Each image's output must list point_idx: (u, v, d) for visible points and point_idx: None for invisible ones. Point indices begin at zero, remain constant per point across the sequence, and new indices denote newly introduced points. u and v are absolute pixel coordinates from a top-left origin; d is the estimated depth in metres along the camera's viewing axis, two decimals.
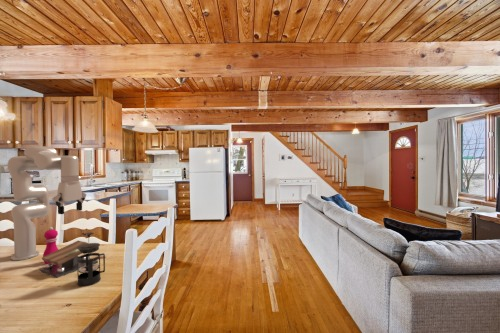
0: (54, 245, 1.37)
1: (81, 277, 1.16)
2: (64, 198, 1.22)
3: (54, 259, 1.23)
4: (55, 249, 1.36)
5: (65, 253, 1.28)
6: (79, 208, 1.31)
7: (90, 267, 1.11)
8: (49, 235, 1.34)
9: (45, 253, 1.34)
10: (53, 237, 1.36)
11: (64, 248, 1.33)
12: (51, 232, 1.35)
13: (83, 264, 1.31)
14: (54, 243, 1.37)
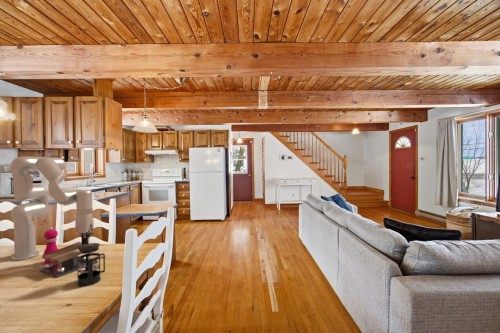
0: (54, 245, 1.37)
1: (81, 277, 1.16)
2: (93, 228, 1.38)
3: (54, 257, 1.23)
4: (55, 249, 1.36)
5: (65, 252, 1.28)
6: None
7: (90, 267, 1.11)
8: (49, 235, 1.34)
9: (45, 253, 1.34)
10: (53, 237, 1.36)
11: (64, 248, 1.34)
12: (51, 232, 1.35)
13: (83, 264, 1.31)
14: (54, 243, 1.37)
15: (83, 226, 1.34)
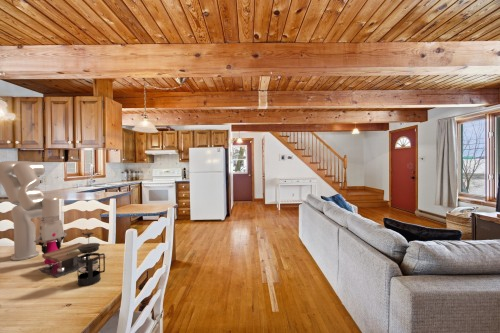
0: (54, 245, 1.37)
1: (81, 277, 1.16)
2: None
3: (54, 256, 1.23)
4: (55, 249, 1.36)
5: (66, 252, 1.28)
6: None
7: (89, 267, 1.11)
8: None
9: None
10: None
11: (65, 248, 1.34)
12: None
13: (83, 264, 1.31)
14: (54, 243, 1.37)
15: (60, 231, 1.38)
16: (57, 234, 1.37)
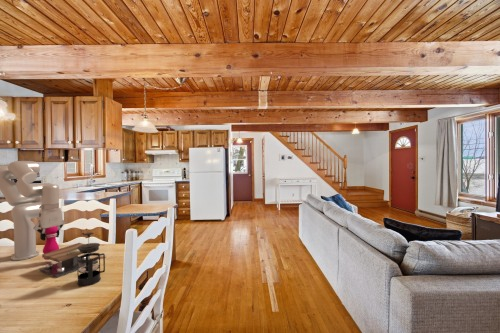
0: (54, 240, 1.36)
1: (81, 277, 1.16)
2: None
3: (54, 256, 1.23)
4: (55, 244, 1.36)
5: (66, 252, 1.28)
6: None
7: (89, 267, 1.11)
8: (49, 230, 1.34)
9: (45, 248, 1.34)
10: (53, 232, 1.35)
11: (65, 248, 1.34)
12: (51, 227, 1.35)
13: (83, 264, 1.31)
14: (54, 238, 1.37)
15: (59, 219, 1.38)
16: (56, 222, 1.37)
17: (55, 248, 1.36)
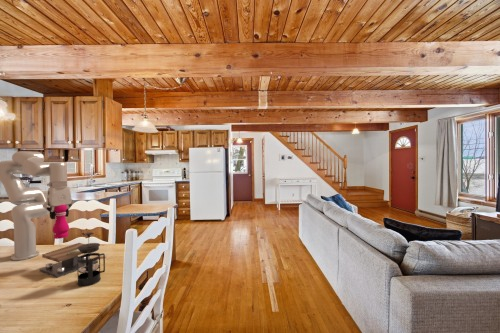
0: (64, 219, 1.33)
1: (81, 277, 1.16)
2: None
3: (54, 256, 1.23)
4: (65, 223, 1.33)
5: (66, 252, 1.28)
6: None
7: (89, 267, 1.11)
8: (58, 208, 1.31)
9: (55, 227, 1.30)
10: (62, 211, 1.32)
11: (65, 248, 1.34)
12: (60, 205, 1.32)
13: (83, 264, 1.31)
14: (64, 217, 1.33)
15: (68, 197, 1.35)
16: (65, 200, 1.34)
17: (65, 227, 1.32)
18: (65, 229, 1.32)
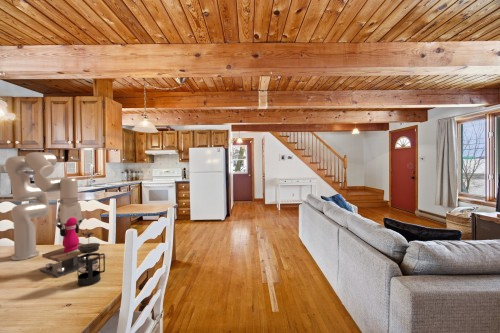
0: (74, 232, 1.30)
1: (81, 277, 1.16)
2: None
3: (54, 256, 1.23)
4: (75, 237, 1.30)
5: None
6: None
7: (89, 267, 1.11)
8: (68, 222, 1.27)
9: (65, 241, 1.27)
10: (72, 224, 1.29)
11: None
12: (70, 219, 1.28)
13: (83, 264, 1.31)
14: (73, 230, 1.30)
15: (78, 213, 1.32)
16: (75, 217, 1.31)
17: (75, 240, 1.29)
18: (75, 243, 1.29)
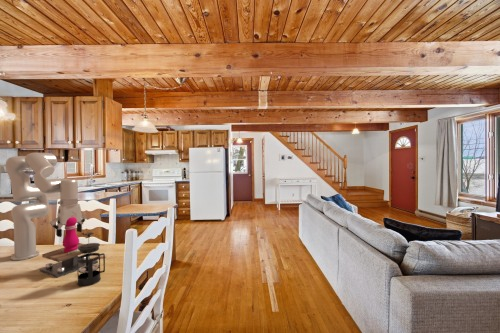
0: (74, 232, 1.30)
1: (81, 277, 1.16)
2: None
3: (54, 256, 1.23)
4: (75, 237, 1.30)
5: None
6: None
7: (90, 267, 1.11)
8: (68, 222, 1.27)
9: (65, 241, 1.27)
10: (73, 224, 1.29)
11: None
12: (70, 219, 1.28)
13: (83, 264, 1.31)
14: (74, 230, 1.30)
15: (78, 215, 1.32)
16: None
17: (75, 240, 1.29)
18: (75, 243, 1.29)
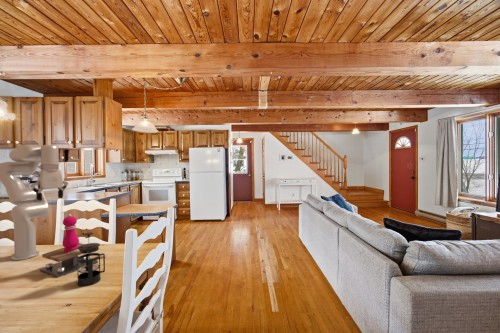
0: (73, 232, 1.30)
1: (81, 277, 1.16)
2: None
3: (54, 256, 1.23)
4: (75, 237, 1.30)
5: None
6: None
7: (89, 267, 1.11)
8: (68, 222, 1.27)
9: (65, 241, 1.27)
10: (72, 224, 1.28)
11: None
12: (70, 219, 1.28)
13: (83, 264, 1.31)
14: (73, 230, 1.30)
15: (59, 180, 1.34)
16: (56, 183, 1.33)
17: (75, 240, 1.29)
18: (75, 243, 1.29)
